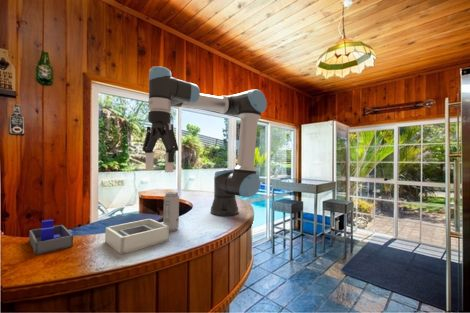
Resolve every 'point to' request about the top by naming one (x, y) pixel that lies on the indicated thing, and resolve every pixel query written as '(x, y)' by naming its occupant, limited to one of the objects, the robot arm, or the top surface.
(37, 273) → the top surface
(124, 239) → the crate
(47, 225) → the cable clip
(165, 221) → the energy drink can
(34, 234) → the clip tray
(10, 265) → the top surface
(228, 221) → the top surface
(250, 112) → the robot arm
